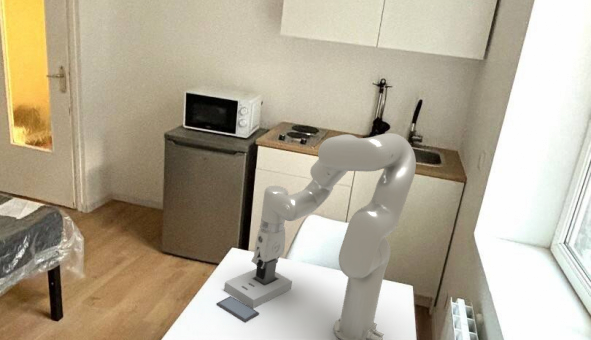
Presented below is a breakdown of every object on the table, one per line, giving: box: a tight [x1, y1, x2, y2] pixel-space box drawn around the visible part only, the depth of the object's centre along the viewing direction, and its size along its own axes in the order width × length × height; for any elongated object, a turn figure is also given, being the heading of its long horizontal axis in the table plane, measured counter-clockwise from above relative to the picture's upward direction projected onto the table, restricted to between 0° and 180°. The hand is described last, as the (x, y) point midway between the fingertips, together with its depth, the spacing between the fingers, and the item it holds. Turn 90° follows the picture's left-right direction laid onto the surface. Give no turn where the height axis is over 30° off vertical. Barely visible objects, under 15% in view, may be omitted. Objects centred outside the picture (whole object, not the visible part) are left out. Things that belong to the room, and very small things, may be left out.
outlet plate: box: [223, 268, 293, 309], centre depth 157 cm, size 13×18×3 cm
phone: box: [216, 295, 260, 324], centre depth 145 cm, size 12×6×1 cm, turn 53°
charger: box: [255, 259, 278, 285], centre depth 158 cm, size 4×4×8 cm
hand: (265, 274), depth 159 cm, fingers closed on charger, 4 cm apart
